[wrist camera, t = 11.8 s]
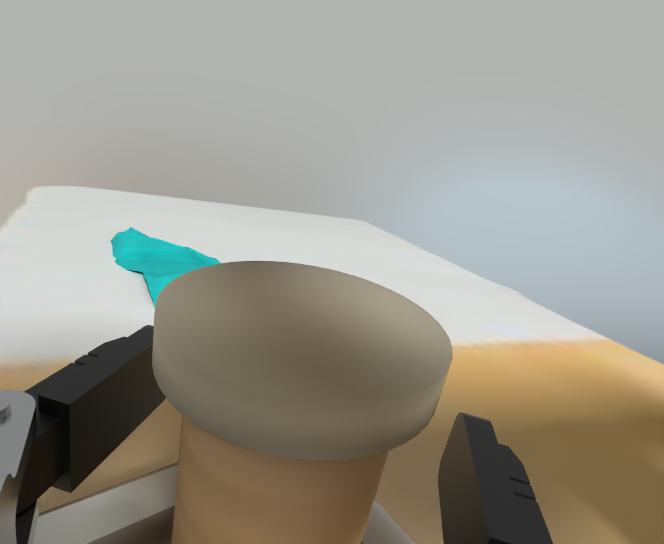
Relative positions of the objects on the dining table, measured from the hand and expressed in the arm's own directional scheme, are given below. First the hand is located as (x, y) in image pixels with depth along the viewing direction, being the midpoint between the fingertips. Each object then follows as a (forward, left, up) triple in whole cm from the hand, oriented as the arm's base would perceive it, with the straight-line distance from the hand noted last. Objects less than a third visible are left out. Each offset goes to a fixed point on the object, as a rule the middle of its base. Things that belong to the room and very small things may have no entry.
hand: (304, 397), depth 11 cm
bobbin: (+2, +1, -8) cm, 8 cm away
